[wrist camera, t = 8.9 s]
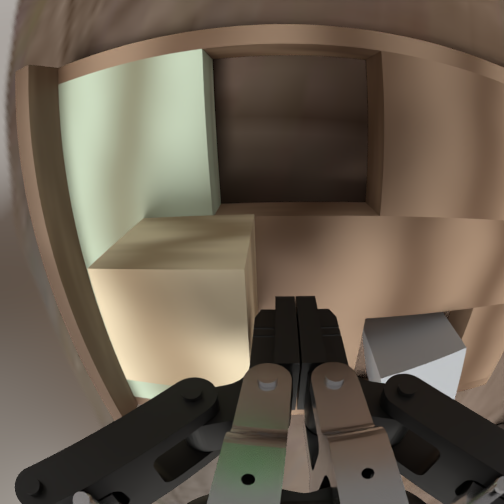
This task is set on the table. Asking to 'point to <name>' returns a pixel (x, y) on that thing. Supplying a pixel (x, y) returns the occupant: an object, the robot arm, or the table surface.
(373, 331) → the trapped grey cube
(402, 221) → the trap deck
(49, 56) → the table surface
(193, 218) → the maple cube
